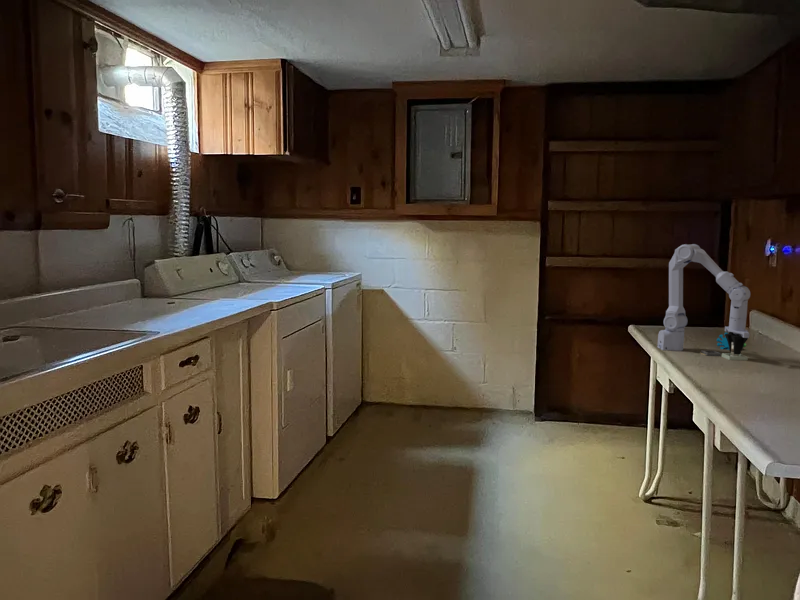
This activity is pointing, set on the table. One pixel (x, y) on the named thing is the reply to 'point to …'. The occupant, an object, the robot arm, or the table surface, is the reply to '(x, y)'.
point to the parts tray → (739, 357)
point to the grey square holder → (710, 353)
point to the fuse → (733, 351)
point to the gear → (724, 342)
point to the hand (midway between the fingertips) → (734, 353)
